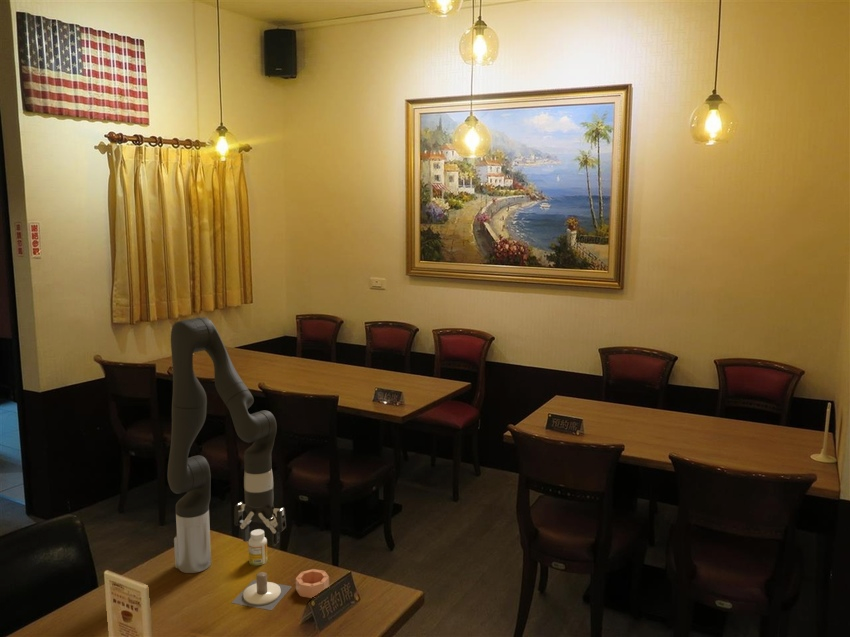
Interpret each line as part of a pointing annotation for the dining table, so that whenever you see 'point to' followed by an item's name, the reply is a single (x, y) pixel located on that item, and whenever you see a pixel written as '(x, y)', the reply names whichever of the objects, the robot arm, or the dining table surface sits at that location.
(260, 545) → the supplement bottle
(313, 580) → the bowl
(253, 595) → the lid
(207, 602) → the dining table surface
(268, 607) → the mat
